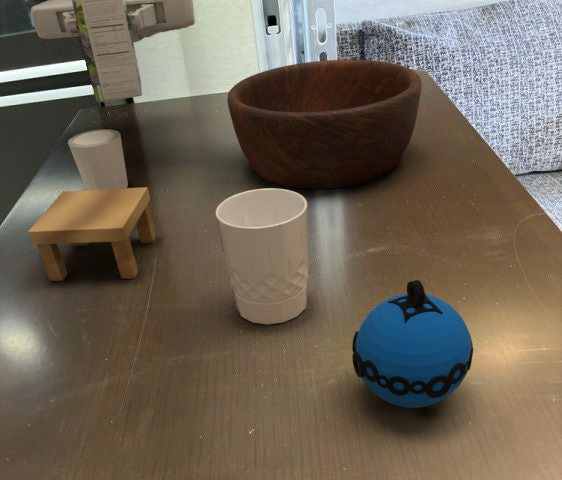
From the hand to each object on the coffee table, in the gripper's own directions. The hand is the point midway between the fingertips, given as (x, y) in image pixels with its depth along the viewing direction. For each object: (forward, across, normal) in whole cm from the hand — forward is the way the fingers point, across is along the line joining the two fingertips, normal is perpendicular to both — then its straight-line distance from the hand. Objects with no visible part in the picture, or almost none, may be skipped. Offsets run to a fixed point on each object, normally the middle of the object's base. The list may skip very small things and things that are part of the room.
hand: (102, 24), depth 74 cm
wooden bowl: (-3, +26, +20) cm, 33 cm away
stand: (+21, 0, +20) cm, 29 cm away
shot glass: (0, -4, +20) cm, 20 cm away
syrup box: (-1, 0, +8) cm, 8 cm away
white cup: (+33, +19, +20) cm, 43 cm away
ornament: (+47, +29, +20) cm, 59 cm away
